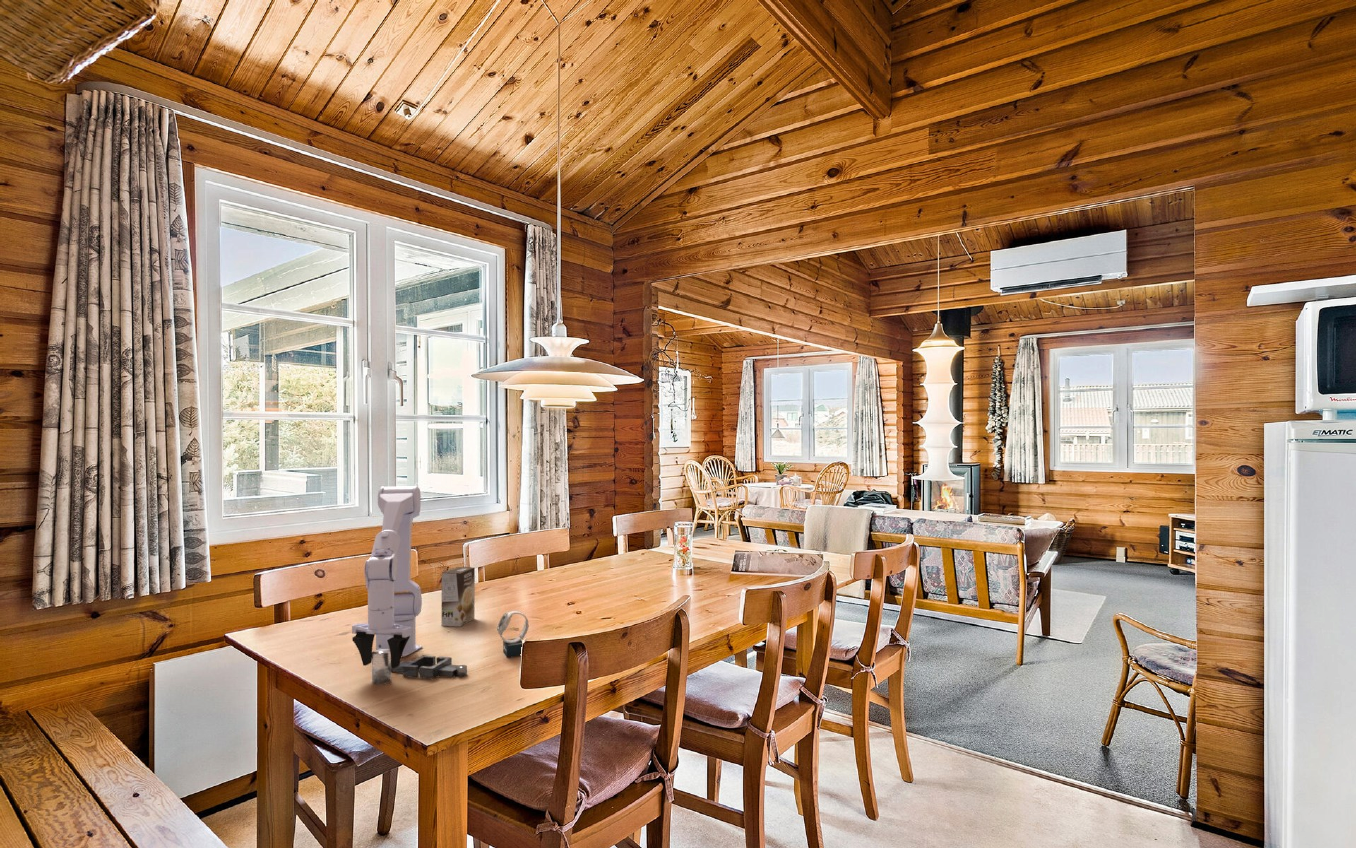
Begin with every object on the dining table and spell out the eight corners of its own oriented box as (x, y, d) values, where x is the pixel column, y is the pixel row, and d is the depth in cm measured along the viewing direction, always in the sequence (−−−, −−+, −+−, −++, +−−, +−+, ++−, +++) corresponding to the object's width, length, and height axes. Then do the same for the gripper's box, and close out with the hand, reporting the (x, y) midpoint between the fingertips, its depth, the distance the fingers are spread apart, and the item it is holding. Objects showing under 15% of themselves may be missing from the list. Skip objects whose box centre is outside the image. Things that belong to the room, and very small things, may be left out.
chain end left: (380, 674, 167) (379, 663, 167) (400, 663, 175) (400, 653, 175) (416, 677, 165) (416, 667, 165) (435, 666, 172) (435, 656, 172)
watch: (495, 652, 182) (495, 611, 182) (526, 648, 186) (526, 607, 186) (499, 659, 177) (499, 616, 177) (530, 655, 181) (530, 612, 181)
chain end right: (419, 678, 164) (419, 667, 164) (439, 666, 172) (439, 656, 172) (457, 681, 162) (457, 670, 162) (474, 669, 170) (474, 659, 170)
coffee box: (460, 627, 206) (460, 573, 206) (440, 626, 207) (440, 572, 207) (475, 618, 215) (475, 567, 215) (456, 617, 216) (456, 566, 216)
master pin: (368, 684, 161) (368, 653, 161) (379, 677, 165) (379, 648, 165) (383, 685, 160) (383, 655, 160) (394, 679, 164) (394, 649, 164)
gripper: (342, 610, 160) (342, 668, 160) (397, 613, 157) (397, 673, 157) (363, 602, 167) (363, 659, 167) (416, 606, 163) (416, 663, 163)
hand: (381, 665), depth 162 cm, fingers open, 7 cm apart
